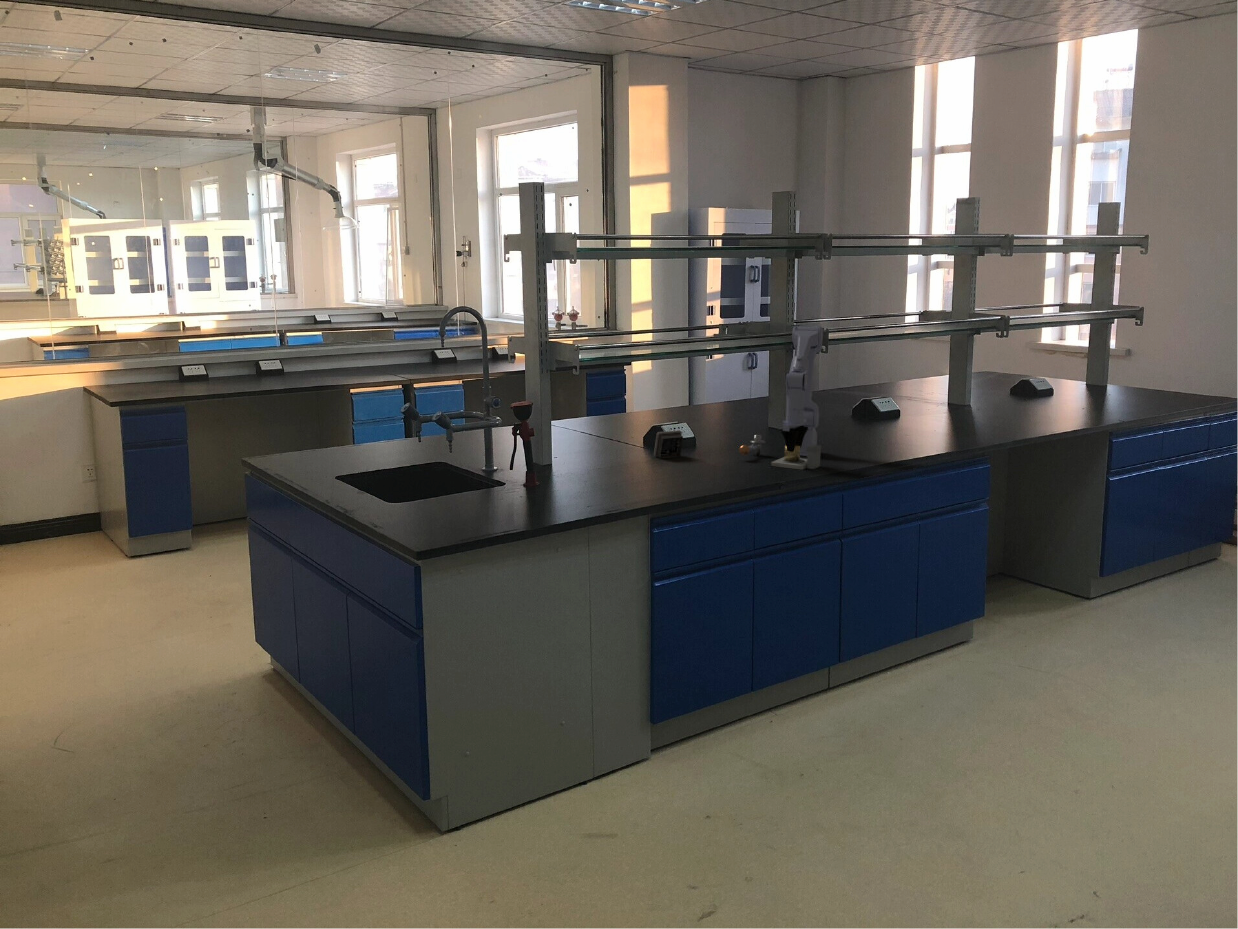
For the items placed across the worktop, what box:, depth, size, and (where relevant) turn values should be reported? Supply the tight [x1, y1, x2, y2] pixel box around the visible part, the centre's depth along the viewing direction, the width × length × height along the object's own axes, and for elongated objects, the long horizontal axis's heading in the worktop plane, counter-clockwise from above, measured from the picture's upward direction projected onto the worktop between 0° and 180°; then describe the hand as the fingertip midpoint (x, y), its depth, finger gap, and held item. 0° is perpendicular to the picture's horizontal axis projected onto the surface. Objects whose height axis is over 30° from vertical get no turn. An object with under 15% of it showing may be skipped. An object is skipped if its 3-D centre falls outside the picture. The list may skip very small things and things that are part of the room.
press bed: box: [770, 444, 822, 471], centre depth 335 cm, size 11×14×7 cm
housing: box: [783, 444, 801, 462], centre depth 336 cm, size 5×5×6 cm
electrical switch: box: [653, 429, 684, 459], centre depth 348 cm, size 9×5×9 cm, turn 113°
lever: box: [738, 443, 757, 456], centre depth 345 cm, size 10×4×4 cm, turn 146°
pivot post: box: [749, 434, 766, 457], centre depth 351 cm, size 5×5×7 cm
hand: (794, 449), depth 335 cm, fingers open, 5 cm apart
